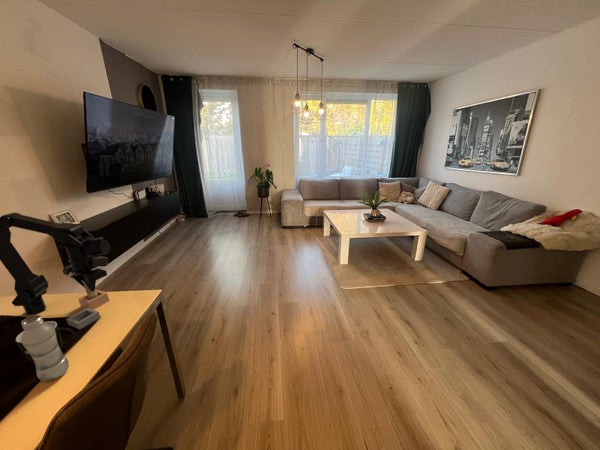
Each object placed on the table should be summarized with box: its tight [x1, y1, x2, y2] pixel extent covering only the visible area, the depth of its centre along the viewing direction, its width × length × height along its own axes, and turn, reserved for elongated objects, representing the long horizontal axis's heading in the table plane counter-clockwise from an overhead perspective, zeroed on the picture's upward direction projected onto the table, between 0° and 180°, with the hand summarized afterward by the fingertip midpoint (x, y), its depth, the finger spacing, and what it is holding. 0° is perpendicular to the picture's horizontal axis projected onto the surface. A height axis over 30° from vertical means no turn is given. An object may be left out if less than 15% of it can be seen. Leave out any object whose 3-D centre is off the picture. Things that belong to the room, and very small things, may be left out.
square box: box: [77, 289, 110, 310], centre depth 101 cm, size 7×7×5 cm
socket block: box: [65, 308, 101, 330], centre depth 91 cm, size 7×7×4 cm
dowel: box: [83, 283, 98, 301], centre depth 100 cm, size 3×3×10 cm
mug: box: [15, 320, 75, 365], centre depth 77 cm, size 12×9×10 cm
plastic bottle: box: [20, 314, 70, 382], centre depth 68 cm, size 6×7×20 cm
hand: (90, 289), depth 99 cm, fingers closed on dowel, 3 cm apart
